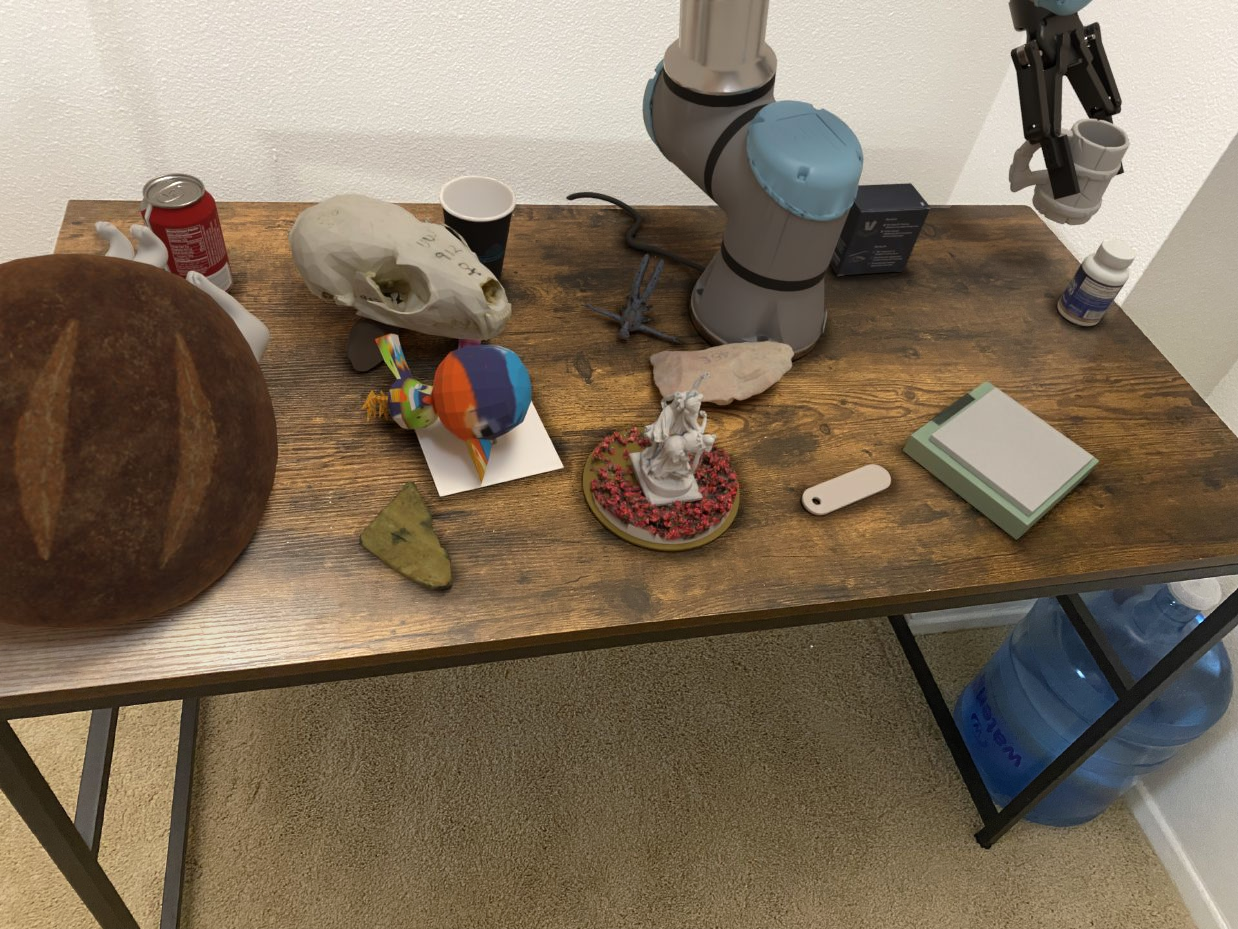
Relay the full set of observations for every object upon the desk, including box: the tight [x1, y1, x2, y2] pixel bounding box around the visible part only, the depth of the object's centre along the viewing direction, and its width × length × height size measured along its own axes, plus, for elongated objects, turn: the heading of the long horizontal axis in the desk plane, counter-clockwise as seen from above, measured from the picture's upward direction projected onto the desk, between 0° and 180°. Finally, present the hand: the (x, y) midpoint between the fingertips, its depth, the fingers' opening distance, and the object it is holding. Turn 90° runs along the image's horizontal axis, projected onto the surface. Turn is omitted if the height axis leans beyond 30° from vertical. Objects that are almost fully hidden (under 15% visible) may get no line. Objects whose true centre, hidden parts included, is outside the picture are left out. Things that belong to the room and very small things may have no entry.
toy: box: [361, 334, 533, 484], centre depth 84 cm, size 10×14×15 cm
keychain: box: [801, 463, 892, 516], centre depth 90 cm, size 10×1×3 cm
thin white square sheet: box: [414, 400, 565, 498], centre depth 88 cm, size 12×12×2 cm
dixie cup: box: [438, 174, 517, 282], centre depth 99 cm, size 8×8×11 cm
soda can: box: [139, 172, 234, 294], centre depth 93 cm, size 7×7×12 cm
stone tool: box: [649, 341, 794, 406], centre depth 96 cm, size 9×5×15 cm
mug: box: [1008, 115, 1131, 226], centre depth 106 cm, size 8×12×12 cm, turn 82°
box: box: [829, 182, 932, 277], centre depth 112 cm, size 9×6×10 cm, turn 104°
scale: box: [902, 380, 1100, 540], centre depth 94 cm, size 14×14×3 cm
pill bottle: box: [1057, 238, 1137, 327], centre depth 111 cm, size 5×5×10 cm
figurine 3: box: [582, 372, 741, 552], centre depth 82 cm, size 15×15×14 cm
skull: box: [288, 193, 513, 342], centre depth 89 cm, size 14×24×10 cm, turn 58°
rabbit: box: [94, 220, 271, 365], centre depth 75 cm, size 12×21×25 cm
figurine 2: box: [579, 253, 681, 344], centre depth 100 cm, size 12×10×5 cm
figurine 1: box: [345, 292, 405, 372], centre depth 95 cm, size 6×4×12 cm
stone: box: [359, 481, 454, 591], centre depth 79 cm, size 12×7×2 cm, turn 24°
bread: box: [0, 253, 279, 630], centre depth 67 cm, size 28×27×9 cm
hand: (1089, 185), depth 106 cm, fingers closed on mug, 8 cm apart
